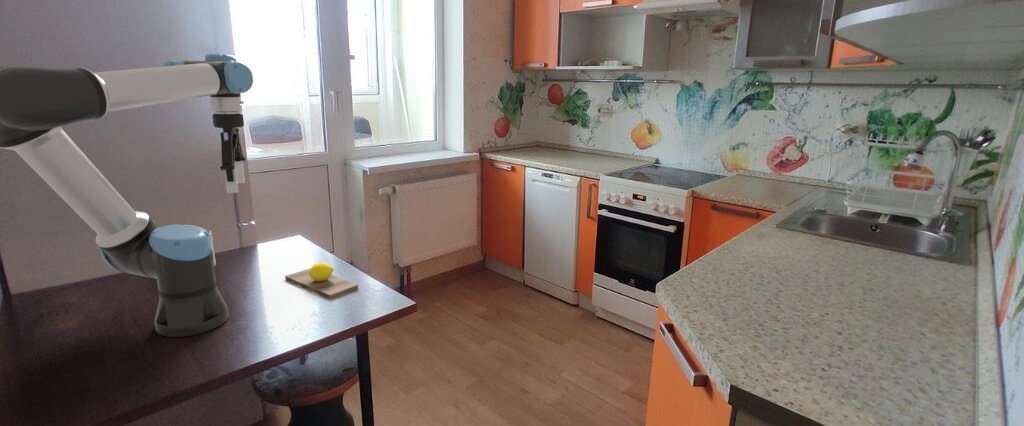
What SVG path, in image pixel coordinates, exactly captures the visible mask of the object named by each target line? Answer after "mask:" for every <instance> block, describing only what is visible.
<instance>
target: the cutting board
mask: <svg viewBox="0 0 1024 426" xmlns="http://www.w3.org/2000/svg"><path fill="white" fill-rule="evenodd" d="M310 269H311V267H310V268H307V269H303V270H300V271H297V272H293V273H291V274H287V275H285V276H284V278H285V279H284V280H285V281H287V282H290V283H291V284H295V285H296V286H299V287H301V288H304V289H306V290H308V291H311V292H313V293H314V294H317V295H319V296H322V297H324V298H326V299H328V300H333V299H335V298H338V297H340V296H343V295H346V294H349V293H351V292H354V291H357V290H359V287H358V286H359V284H356V283H353V282H351V281H348V280H345V279H343V278H341V277H338V276H336V275H332V274H331V276H330V277H329V278H328V279H327V280H324V281H321V282H320V281H315V280H313V279H312V278H311V277H310V276H309V274H308V273H309V270H310Z"/></svg>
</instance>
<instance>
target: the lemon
mask: <svg viewBox="0 0 1024 426" xmlns="http://www.w3.org/2000/svg"><path fill="white" fill-rule="evenodd" d="M310 268H311V269H310V270H309V273H308V274H309V276H310V277H311V278H312V279H313V280H315V281H320V282H321V281H324V280H327V279H328V278H329V277H330V276H331V275H332V274H333V272H334V270H335V269H334V268H333V267H332V266H331V265H330V264H328V263H326V262H316V263H315V264H313V265H312V266H311V267H310Z"/></svg>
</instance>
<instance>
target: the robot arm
mask: <svg viewBox="0 0 1024 426" xmlns="http://www.w3.org/2000/svg"><path fill="white" fill-rule="evenodd" d="M253 76H254V75H253V72H252V70H251V69H250V67H249V66H248V64H245V63H244V62H242V61H237V58H236V57H235V56H234V55H231V54H219V53H218V54H217V53H216V54H215V53H214V54H213V53H210V54H209V53H208V54H205V56H204V60H184V59H183V60H181V59H175V60H173V59H171V60H166V61H164V62H163V64H162V65H161V66H155V67H146V68H145V67H144V68H132V69H131V68H130V69H120V70H118V69H117V70H109V71H99V72H93V71H91V70H89V69H87V68H84V67H82V68H81V67H79V68H78V67H77V68H76V67H75V68H50V67H38V66H29V65H0V149H2V150H3V149H4V150H8V151H9V150H10V151H14V152H16V153H17V154H18V155H19V156H20V158H21V159H22V160H23V161H24V162H25V163H27V165H28V166H30V167H31V169H32V170H33V171H35V173H36V174H38V176H39V177H40V178H42V180H43V181H44V182H45V183H46V184H47V185H48V186H50V188H51V189H52V190H53V191H54V192H55V193H56V194H57V195H58V196H59V197H60V198H61V199H62V200H63V201H64V202H65V203H66V204H67V205H68V206H70V208H71V209H72V210H73V211H74V212H75V213H76V214H77V215H78V216H79V217H80V218H81V219H82V220H83V221H84V222H85V223H86V224H87V225H88V226H89V227H90V228H91V229H92V230H93V231H94V232H95V233H96V237H95V243H96V245H97V246H98V247H99V248H100V249H99V252H100V256H101V258H102V260H103V261H104V262H105V264H106V265H107V266H109V267H110V268H112V269H114V270H116V271H118V272H120V273H124V274H129V275H137V276H142V277H144V278H145V277H146V278H151V279H155V280H156V284H157V291H158V295H159V296H158V297H159V300H158V304H157V309H156V313H155V318H154V326H155V327H154V328H155V332H156V333H157V335H160V336H163V337H166V338H182V337H184V338H185V337H190V336H195V335H200V334H203V333H206V332H209V331H211V330H212V331H213V330H215V329H216V328H218V327H220V326H222V325H223V324H225V323H226V322H227V321H228V319H229V317H230V316H229V309H228V305H227V303H226V302H225V300H224V298H223V295H222V294H221V292H220V290H219V289H218V286H217V280H216V272H215V267H214V262H213V253H212V244H211V241H210V237H209V234H208V232H207V231H206V230H207V229H204V228H203V227H201V226H199V225H198V226H197V225H193V224H179V223H178V224H169V225H163V226H160V227H159V226H158V225H157V223H156V222H155V221H154V220H153V219H152V218H151V217H150V216H149V215H148V213H146V212H145V211H137V210H136V211H135V209H134V208H133V207H132V206H131V205H130V204H129V203H128V202H127V201H126V200H125V199H124V197H123V196H122V195H121V194H120V193H119V191H118V190H117V189H115V187H114V186H113V185H112V184H111V183H110V182H109V181H108V179H107V178H106V177H105V176H104V175H103V174H102V172H100V170H99V169H98V168H97V167H96V166H95V165H94V163H93V162H92V161H91V160H90V159H89V158H88V157H87V156H86V154H85V153H84V152H83V151H82V149H80V148H79V146H77V144H76V143H75V141H73V140H72V139H71V138H70V136H69V135H68V134H67V133H66V132H65V131H64V130H63V128H62V127H65V126H68V125H74V124H78V123H82V122H88V121H93V120H98V119H102V118H103V119H104V117H106V115H107V113H108V112H115V111H121V110H127V109H128V110H129V109H133V108H140V107H146V106H152V105H158V104H165V103H172V102H177V101H183V100H191V99H196V98H202V97H208V96H209V103H210V109H211V110H210V111H211V112H213V113H212V123H213V127H214V128H219V129H222V132H220V134H219V135H220V141H221V143H220V145H221V166H220V168H219V169H220V171H223V173H224V180H225V182H224V183H225V188H226V194H238V193H239V187H238V186H239V185H238V184H245V183H246V179H245V172H244V171H245V170H244V169H245V168H244V162H245V161H246V157H244V154H243V149H242V145H241V144H242V143H241V138H240V134H239V128H242V127H244V126H245V122H244V120H245V119H244V114H243V113H242V111H243V107H242V106H243V104H245V101H244V100H241V99H242V97H241V94H245V93H247V92H248V91H250V90H251V89H252V87H253V84H254V77H253Z"/></svg>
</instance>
